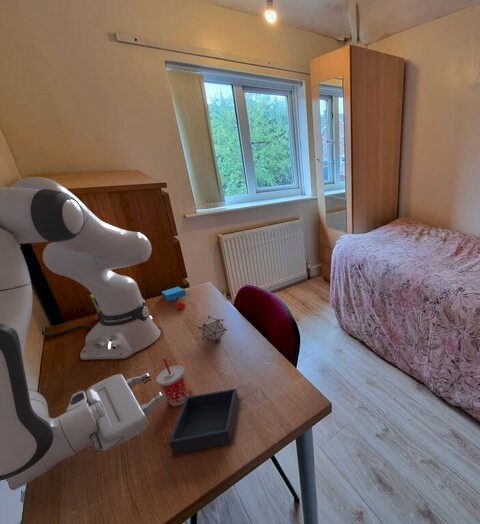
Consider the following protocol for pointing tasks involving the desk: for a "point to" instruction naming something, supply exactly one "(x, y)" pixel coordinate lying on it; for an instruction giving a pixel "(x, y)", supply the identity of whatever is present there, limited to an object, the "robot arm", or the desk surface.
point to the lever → (175, 296)
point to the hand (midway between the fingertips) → (156, 385)
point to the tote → (205, 421)
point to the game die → (212, 329)
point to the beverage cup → (173, 384)
